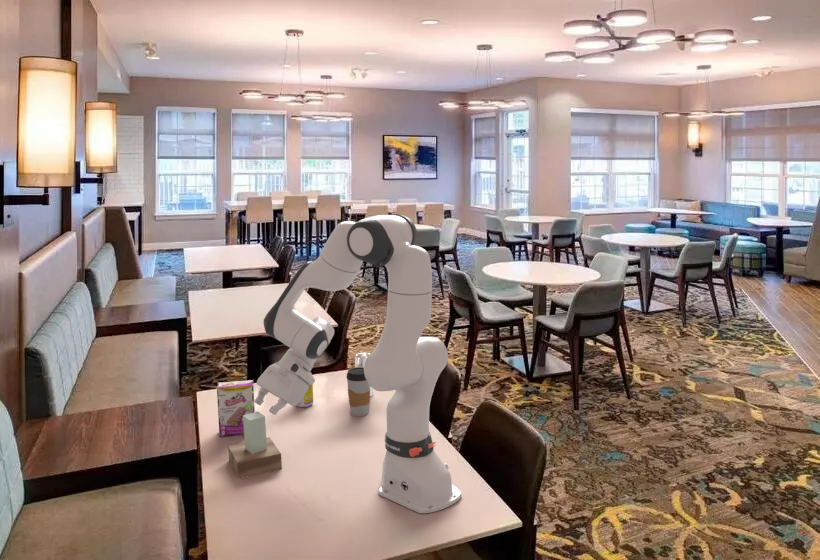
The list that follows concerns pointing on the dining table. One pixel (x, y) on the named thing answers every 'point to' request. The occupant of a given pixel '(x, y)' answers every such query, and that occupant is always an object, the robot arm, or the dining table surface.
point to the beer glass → (362, 363)
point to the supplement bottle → (307, 398)
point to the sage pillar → (255, 432)
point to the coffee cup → (358, 391)
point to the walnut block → (254, 459)
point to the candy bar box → (234, 405)
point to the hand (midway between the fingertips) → (264, 408)
